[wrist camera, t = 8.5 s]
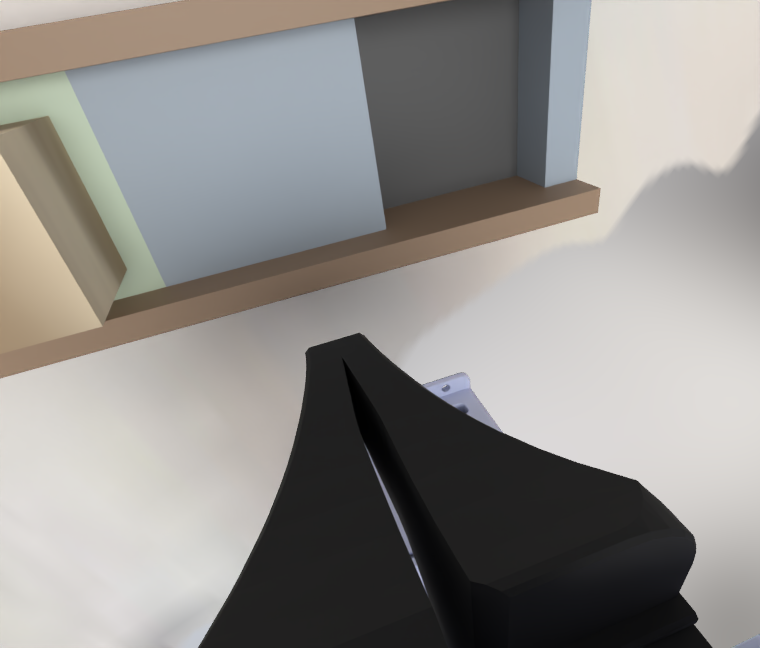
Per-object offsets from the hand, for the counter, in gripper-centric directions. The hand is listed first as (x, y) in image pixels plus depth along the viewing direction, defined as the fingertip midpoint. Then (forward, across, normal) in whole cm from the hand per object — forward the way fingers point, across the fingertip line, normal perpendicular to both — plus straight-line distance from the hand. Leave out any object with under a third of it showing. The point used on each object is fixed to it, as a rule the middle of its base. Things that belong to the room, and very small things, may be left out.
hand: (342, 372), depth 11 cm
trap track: (+10, +3, -3) cm, 11 cm away
